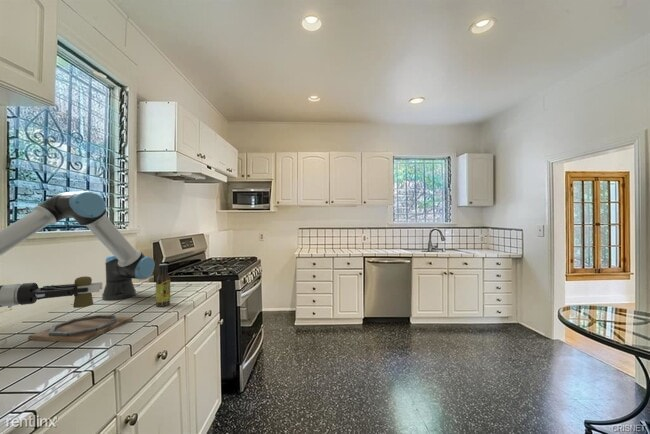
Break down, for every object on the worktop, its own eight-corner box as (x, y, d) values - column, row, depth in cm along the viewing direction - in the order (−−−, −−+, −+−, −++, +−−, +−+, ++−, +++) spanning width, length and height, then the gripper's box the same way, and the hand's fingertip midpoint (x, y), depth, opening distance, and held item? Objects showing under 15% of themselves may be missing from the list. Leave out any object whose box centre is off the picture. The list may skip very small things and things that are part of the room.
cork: (82, 308, 111) (81, 278, 111) (68, 307, 112) (68, 278, 112) (97, 303, 117) (97, 275, 117) (84, 302, 118) (84, 275, 118)
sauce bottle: (165, 307, 141) (164, 265, 141) (152, 307, 142) (152, 265, 142) (173, 303, 147) (172, 263, 147) (161, 303, 148) (161, 263, 148)
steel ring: (86, 316, 126) (86, 314, 126) (127, 318, 122) (127, 315, 122) (35, 334, 106) (35, 331, 106) (81, 337, 103) (81, 334, 103)
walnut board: (87, 318, 127) (87, 314, 127) (132, 320, 124) (132, 316, 124) (28, 339, 105) (28, 335, 105) (81, 342, 102) (81, 338, 102)
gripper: (31, 299, 114) (105, 291, 124) (8, 311, 99) (95, 301, 109) (31, 279, 114) (105, 273, 124) (7, 288, 99) (94, 281, 109)
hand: (100, 286), depth 117 cm, fingers closed on cork, 4 cm apart
